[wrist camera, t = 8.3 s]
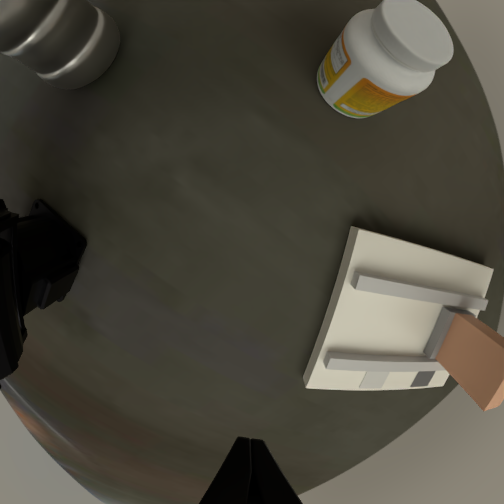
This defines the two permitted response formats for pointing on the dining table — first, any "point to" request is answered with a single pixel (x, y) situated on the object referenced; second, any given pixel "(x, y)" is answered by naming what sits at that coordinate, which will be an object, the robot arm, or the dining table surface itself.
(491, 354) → the slide tab
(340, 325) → the switch board
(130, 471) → the dining table surface
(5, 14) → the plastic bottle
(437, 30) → the supplement bottle
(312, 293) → the dining table surface
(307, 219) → the dining table surface
